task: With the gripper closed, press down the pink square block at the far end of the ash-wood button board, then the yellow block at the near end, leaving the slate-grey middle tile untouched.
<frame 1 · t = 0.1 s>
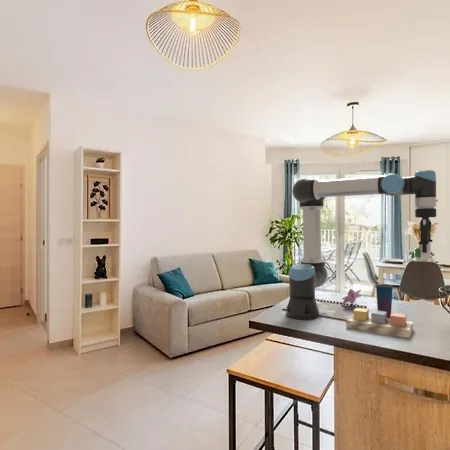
hand: (425, 258, 137), 28 cm above the worktop, fingers open, 13 cm apart
cup: (384, 319, 147), on the worktop
lily: (352, 306, 168), on the worktop
button board: (379, 328, 135), on the worktop
yellow block: (361, 314, 139), point 5 cm above the worktop, slide at 0.0 cm
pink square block: (398, 319, 131), point 5 cm above the worktop, slide at 0.0 cm
tile slate: (379, 317, 135), point 5 cm above the worktop, slide at 0.0 cm
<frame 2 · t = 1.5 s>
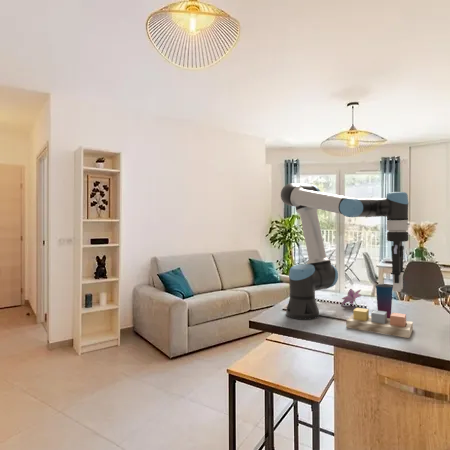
hand: (398, 289, 130), 17 cm above the worktop, fingers open, 4 cm apart
nothing on the worktop moved.
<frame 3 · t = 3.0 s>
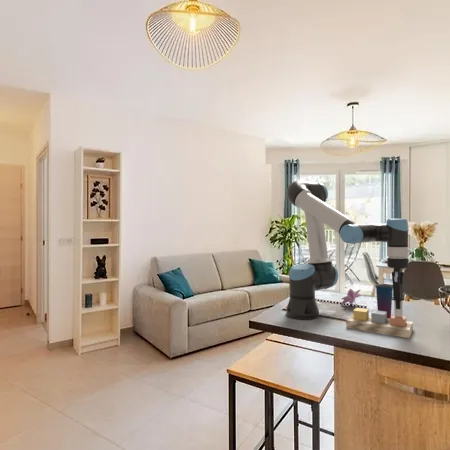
hand: (398, 316, 131), 6 cm above the worktop, fingers closed
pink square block: (398, 322, 131), point 4 cm above the worktop, slide at 0.9 cm
everything else where it was.
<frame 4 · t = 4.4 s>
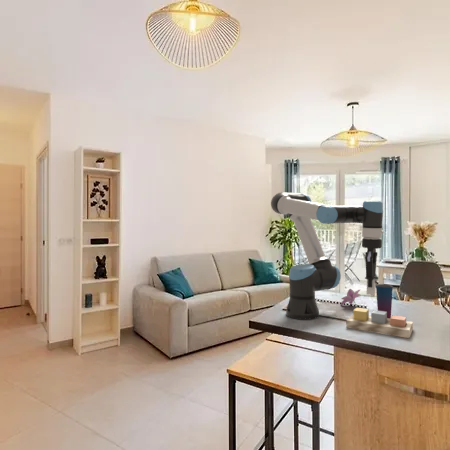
hand: (370, 294, 137), 13 cm above the worktop, fingers closed
nothing on the worktop moved.
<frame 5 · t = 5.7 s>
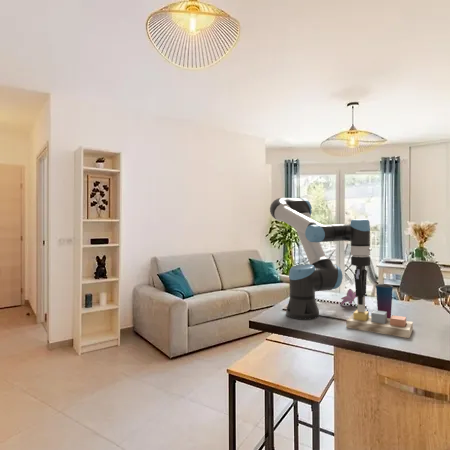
hand: (361, 311, 139), 6 cm above the worktop, fingers closed
yellow block: (361, 316, 139), point 4 cm above the worktop, slide at 1.0 cm
everything else where it was.
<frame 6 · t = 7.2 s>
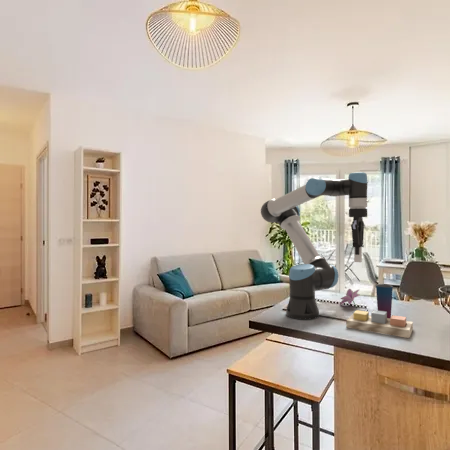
hand: (358, 261, 144), 26 cm above the worktop, fingers closed
nothing on the worktop moved.
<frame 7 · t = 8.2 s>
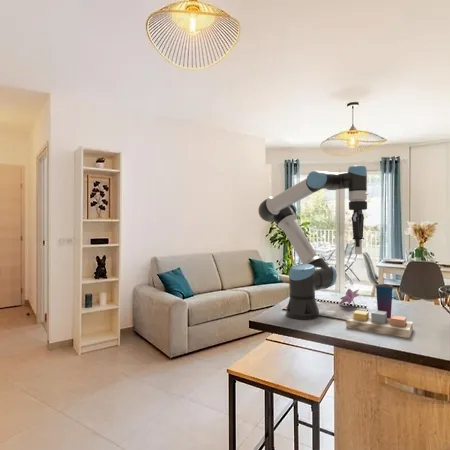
hand: (358, 254, 145), 29 cm above the worktop, fingers closed
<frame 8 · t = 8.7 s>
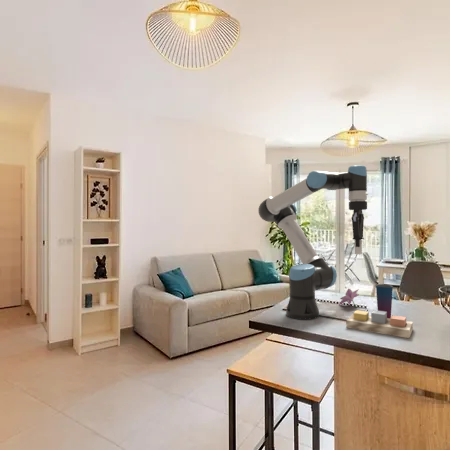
hand: (358, 254, 145), 29 cm above the worktop, fingers closed
at the end: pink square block slide at 1.1 cm; yellow block slide at 1.1 cm; tile slate slide at 0.0 cm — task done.
